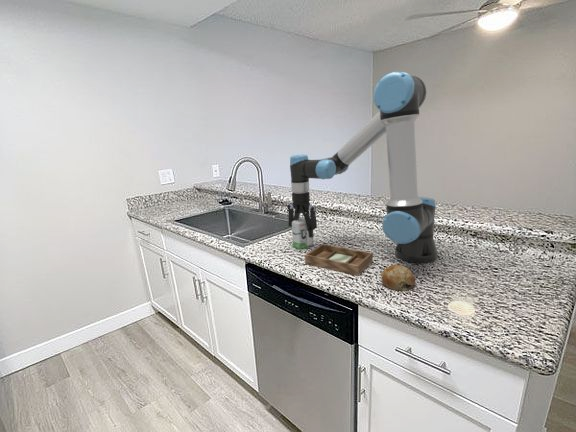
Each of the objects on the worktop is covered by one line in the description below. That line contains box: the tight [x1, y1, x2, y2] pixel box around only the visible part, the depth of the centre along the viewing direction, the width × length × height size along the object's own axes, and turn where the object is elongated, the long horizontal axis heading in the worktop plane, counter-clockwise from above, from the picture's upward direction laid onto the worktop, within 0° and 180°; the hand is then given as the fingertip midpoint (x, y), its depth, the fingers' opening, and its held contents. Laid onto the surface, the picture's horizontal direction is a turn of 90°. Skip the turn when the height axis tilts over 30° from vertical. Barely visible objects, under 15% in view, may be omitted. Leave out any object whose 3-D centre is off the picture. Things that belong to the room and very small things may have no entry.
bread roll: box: [380, 264, 416, 292], centre depth 97 cm, size 10×10×8 cm
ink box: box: [291, 217, 315, 250], centre depth 134 cm, size 9×5×12 cm, turn 128°
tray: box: [304, 243, 374, 277], centre depth 116 cm, size 22×14×4 cm, turn 54°
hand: (303, 242), depth 135 cm, fingers closed on ink box, 6 cm apart
